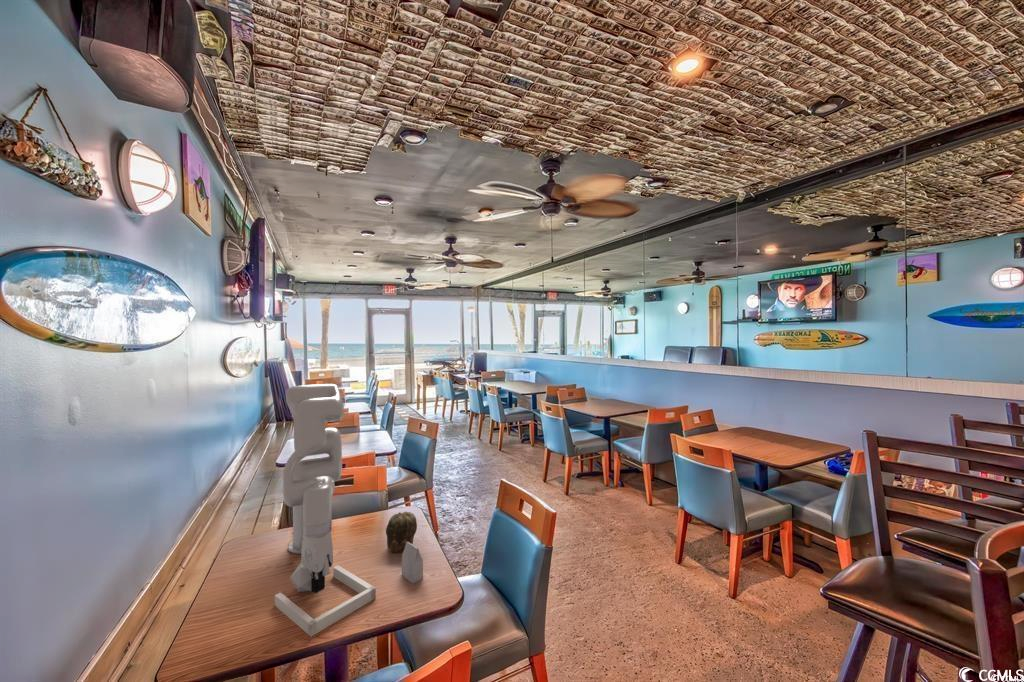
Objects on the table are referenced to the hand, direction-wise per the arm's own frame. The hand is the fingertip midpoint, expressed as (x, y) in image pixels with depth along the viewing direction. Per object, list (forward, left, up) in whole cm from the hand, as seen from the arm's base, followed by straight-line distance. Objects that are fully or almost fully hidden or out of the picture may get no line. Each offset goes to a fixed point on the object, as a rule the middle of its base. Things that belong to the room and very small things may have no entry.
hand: (318, 590), depth 118 cm
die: (-7, 0, -2) cm, 7 cm away
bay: (+4, 0, -2) cm, 4 cm away
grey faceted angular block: (+14, +23, -3) cm, 27 cm away
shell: (-4, +33, -3) cm, 34 cm away
